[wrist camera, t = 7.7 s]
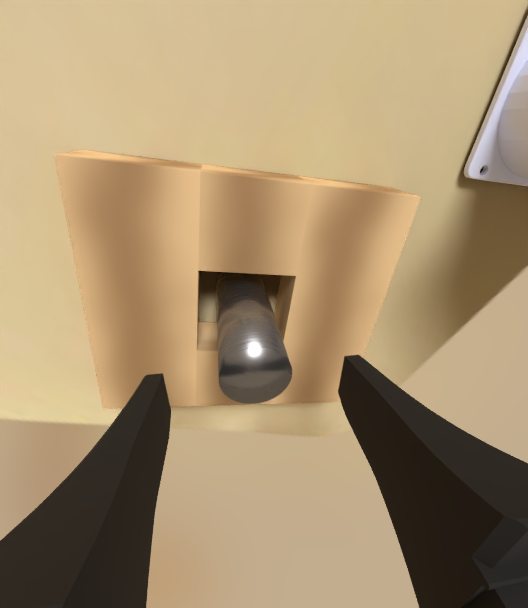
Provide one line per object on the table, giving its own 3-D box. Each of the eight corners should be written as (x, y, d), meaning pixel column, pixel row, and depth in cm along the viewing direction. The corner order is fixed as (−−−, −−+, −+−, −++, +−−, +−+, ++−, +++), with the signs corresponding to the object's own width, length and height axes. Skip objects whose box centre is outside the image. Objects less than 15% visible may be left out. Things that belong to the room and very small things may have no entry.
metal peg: (263, 263, 18) (293, 344, 12) (263, 305, 20) (291, 398, 13) (213, 267, 18) (214, 353, 11) (218, 310, 20) (222, 408, 13)
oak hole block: (389, 187, 17) (421, 197, 15) (332, 372, 24) (346, 401, 21) (82, 149, 14) (53, 154, 12) (116, 374, 21) (103, 408, 18)
